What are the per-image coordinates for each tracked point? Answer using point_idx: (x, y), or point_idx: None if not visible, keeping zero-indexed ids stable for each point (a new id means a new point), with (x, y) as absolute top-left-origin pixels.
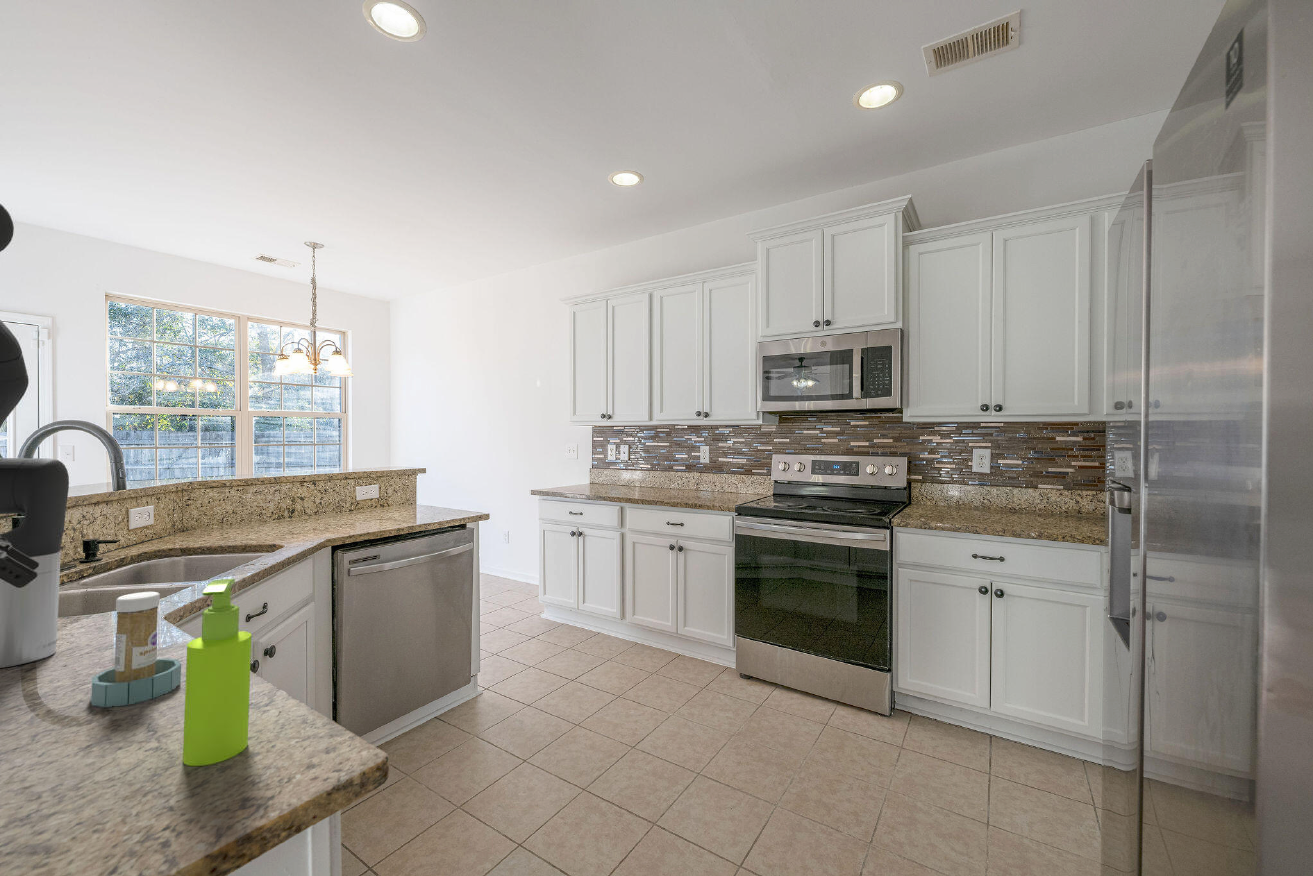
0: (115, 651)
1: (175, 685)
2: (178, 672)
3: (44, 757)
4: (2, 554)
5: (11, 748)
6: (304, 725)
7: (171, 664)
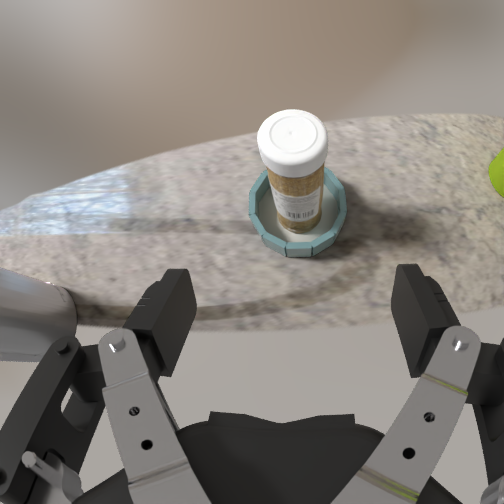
0: (301, 210)
1: None
2: None
3: None
4: (476, 339)
5: None
6: (488, 124)
7: None
